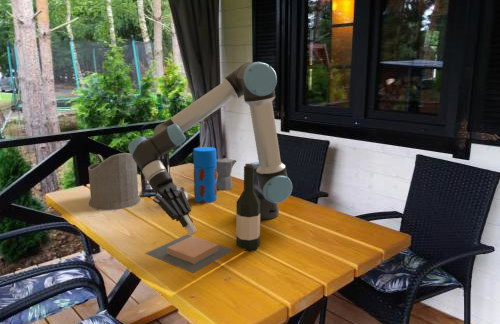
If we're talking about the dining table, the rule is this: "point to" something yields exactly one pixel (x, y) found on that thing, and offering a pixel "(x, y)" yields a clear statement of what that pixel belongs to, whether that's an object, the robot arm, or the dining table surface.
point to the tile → (192, 249)
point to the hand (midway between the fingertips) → (193, 233)
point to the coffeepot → (224, 173)
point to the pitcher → (114, 183)
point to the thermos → (205, 174)
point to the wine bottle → (248, 214)
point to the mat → (164, 256)
